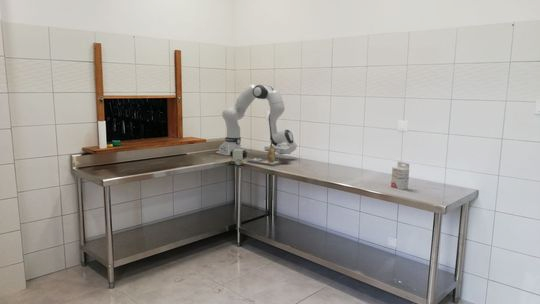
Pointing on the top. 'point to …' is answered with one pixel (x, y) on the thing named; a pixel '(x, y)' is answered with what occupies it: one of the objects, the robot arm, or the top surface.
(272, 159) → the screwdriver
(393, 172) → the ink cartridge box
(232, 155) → the pneumatic valve
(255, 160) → the switch board
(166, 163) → the top surface
